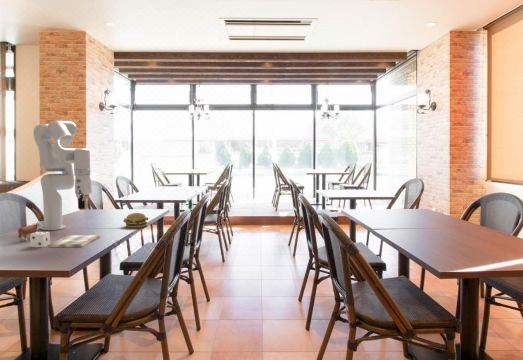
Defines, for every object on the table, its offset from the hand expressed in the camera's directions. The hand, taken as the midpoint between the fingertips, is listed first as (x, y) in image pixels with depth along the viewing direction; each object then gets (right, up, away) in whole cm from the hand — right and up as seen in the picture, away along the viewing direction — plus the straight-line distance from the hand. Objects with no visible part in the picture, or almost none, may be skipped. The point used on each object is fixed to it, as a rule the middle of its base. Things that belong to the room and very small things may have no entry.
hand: (83, 207), depth 207 cm
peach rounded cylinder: (0, -1, 0) cm, 1 cm away
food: (+16, -14, +34) cm, 40 cm away
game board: (0, -16, -8) cm, 18 cm away
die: (-13, -17, -16) cm, 27 cm away
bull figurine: (-25, -16, -3) cm, 30 cm away
